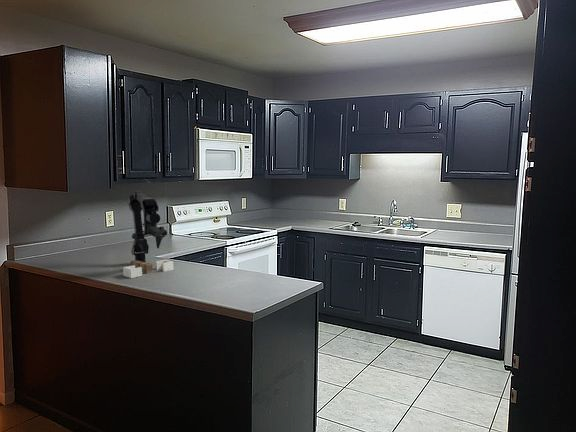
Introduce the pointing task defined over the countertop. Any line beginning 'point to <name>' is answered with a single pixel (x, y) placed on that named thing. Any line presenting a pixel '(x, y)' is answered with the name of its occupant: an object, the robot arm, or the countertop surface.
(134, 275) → the cap
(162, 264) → the cap
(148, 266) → the brown bar
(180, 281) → the countertop surface
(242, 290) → the countertop surface
